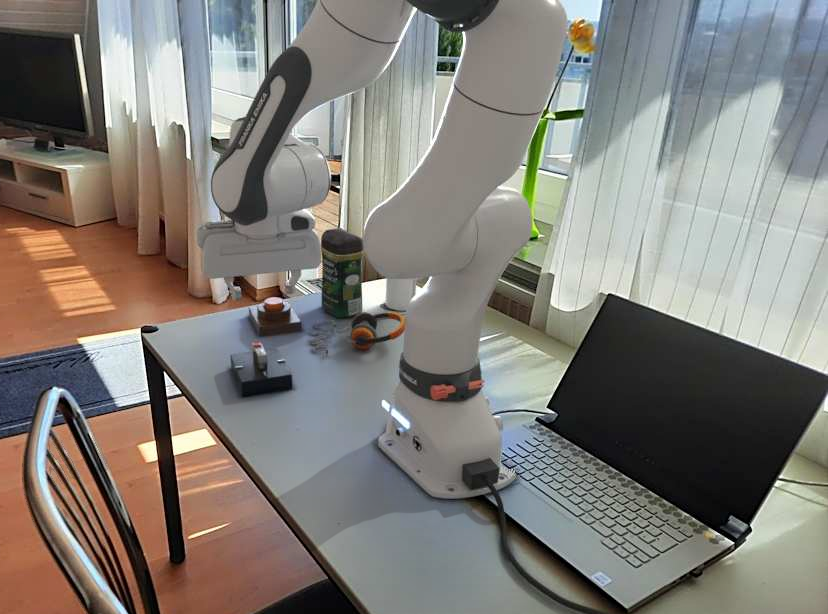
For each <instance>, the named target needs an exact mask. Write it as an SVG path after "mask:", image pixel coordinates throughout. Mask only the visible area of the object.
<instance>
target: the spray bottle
mask: <svg viewBox="0 0 828 614" xmlns="http://www.w3.org/2000/svg"><path fill="white" fill-rule="evenodd" d="M385 278H386V277H385ZM385 282H386V283H385V306H386V308H388V309H390V310H393V311H394V310H395V311H406V309H407V307H408V304H409V303H410V301H411V300H412V298H413V297H414V296H415V295H416V294H417V279H390V278H386V280H385Z"/></svg>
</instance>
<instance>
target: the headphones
mask: <svg viewBox="0 0 828 614" xmlns="http://www.w3.org/2000/svg"><path fill="white" fill-rule="evenodd" d="M379 319H390V320H395V321H397V322H399V323H400V324H399V325H398V327H397V328H395V329H394V330H392V331H390V332H389V333H388V334H385V335H382V336H378V332H377V328H378V322H377V320H379ZM325 322H333V324H334V325H333V332H334V334H335V335H336V336H337V337H338V338H339V339H344V340H346V341H347V342H350V343H352V344H353V345H354V347H356V348H358V349H360V350H367V349H370V348H372V347H373V346H374V345H375V344H378V343H379V344H380V343H384V342H387V341H391V340H392V341H393V340H396V339H397V338H399V337H400V336H401V335H402V334H404V332H405V316H404V315H403V314H401V313H399V312H397V311H389V312H379V313H376V314H372V313H370V312H364V311H363V312H361V313H359V314H357V315H356V316H353V319H352V320H351V324H349V325H347V326H346V327H344V328H343V329H341V330H339V329H337V324H336V321H335V320H333V319H326V320H323V321H320V322H318V323H317V324H315V328H317V329H322V330H319V331H315V332H312V333H311V334H310V335H311V336H316V335H317V338H314V339H311V340H310V342H311V343H310V344H311V345H313V346H314V345H315V346H314V348H313V349H312V350H313V352H322V351H325V356H326V357H328V354H329V350H328V349H326V348H324V347H327V346H329V345H328V344H331V343H332V340H323V339H327V338H328V336H329V335H331V331H325V330H326V328H325V327H322V326H318V325H320V324H322V323H325ZM350 326H351V332H350V338H351V340H350V339H349V338H347V337H343V336H341V335H339V334H337V332H344V331H346V330H347V328H349V327H350ZM318 348H323V349H318Z"/></svg>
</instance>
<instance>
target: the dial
mask: <svg viewBox="0 0 828 614" xmlns="http://www.w3.org/2000/svg"><path fill="white" fill-rule="evenodd" d="M251 346H252V348H251V349H252V352H253V359H254V361H255V363H256V366H257V368H258V370H259V371H261V370H267V369H268V367H267V354H266V352H265V350H266V349H265V348H264V346H263V344H262V343H261V342H260V341H259V342H253V343H252V345H251Z"/></svg>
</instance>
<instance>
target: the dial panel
mask: <svg viewBox="0 0 828 614" xmlns="http://www.w3.org/2000/svg"><path fill="white" fill-rule="evenodd" d="M264 350H265V352H266V354H267V367H268V369H267V370H261V371H259V370H258V368H257V366H256V363H255V361H254V359H253V351H248V352H240V353H233V354H230V367H231V368H230V369H231V371H232V374H233V376H234V379H235V381H236V384H237V386H238V389H239V392H240V395H241V397H242V398H245V397H251V396H257V395H264V394H270V393H276V392H281V391H282V392H283V391H288V390H293V373H292V372H291V370H290V369H289V366H288V364H287V363H286V359H285V358H283V356H282V354H281V352H280V350H279V348H278V347H276V348H269V349H264Z"/></svg>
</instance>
